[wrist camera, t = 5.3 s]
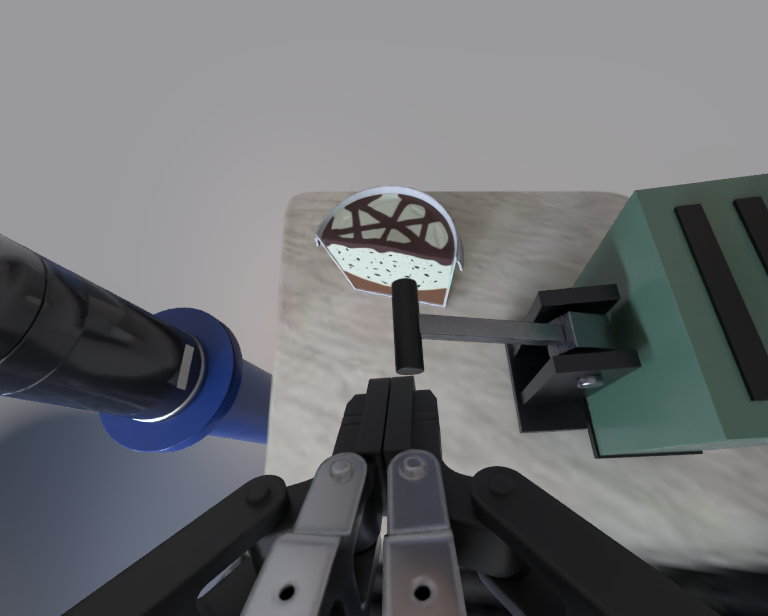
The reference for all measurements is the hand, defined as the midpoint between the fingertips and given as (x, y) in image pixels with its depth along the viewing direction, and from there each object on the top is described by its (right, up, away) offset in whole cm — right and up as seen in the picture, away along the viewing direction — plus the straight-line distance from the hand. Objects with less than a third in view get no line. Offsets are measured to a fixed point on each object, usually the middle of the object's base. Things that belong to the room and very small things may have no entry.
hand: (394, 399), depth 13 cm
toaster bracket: (+13, -3, +20) cm, 24 cm away
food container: (+2, +7, +27) cm, 27 cm away
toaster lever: (+6, +1, +10) cm, 12 cm away
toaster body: (+20, -2, +20) cm, 28 cm away
